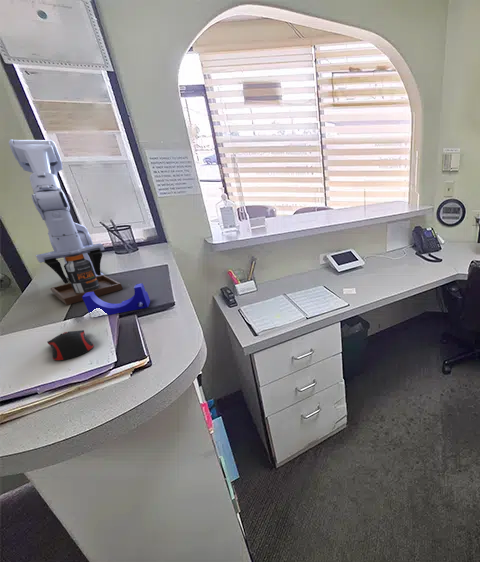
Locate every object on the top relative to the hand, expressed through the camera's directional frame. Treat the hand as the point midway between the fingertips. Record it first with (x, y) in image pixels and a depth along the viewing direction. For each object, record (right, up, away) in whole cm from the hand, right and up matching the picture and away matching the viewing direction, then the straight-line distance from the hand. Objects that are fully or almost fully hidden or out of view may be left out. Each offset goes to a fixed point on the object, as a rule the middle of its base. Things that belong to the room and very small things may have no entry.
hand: (82, 278), depth 94 cm
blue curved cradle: (+21, -9, -11) cm, 25 cm away
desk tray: (0, -4, +2) cm, 4 cm away
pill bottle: (0, -4, +2) cm, 4 cm away
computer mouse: (+24, -15, -28) cm, 40 cm away
